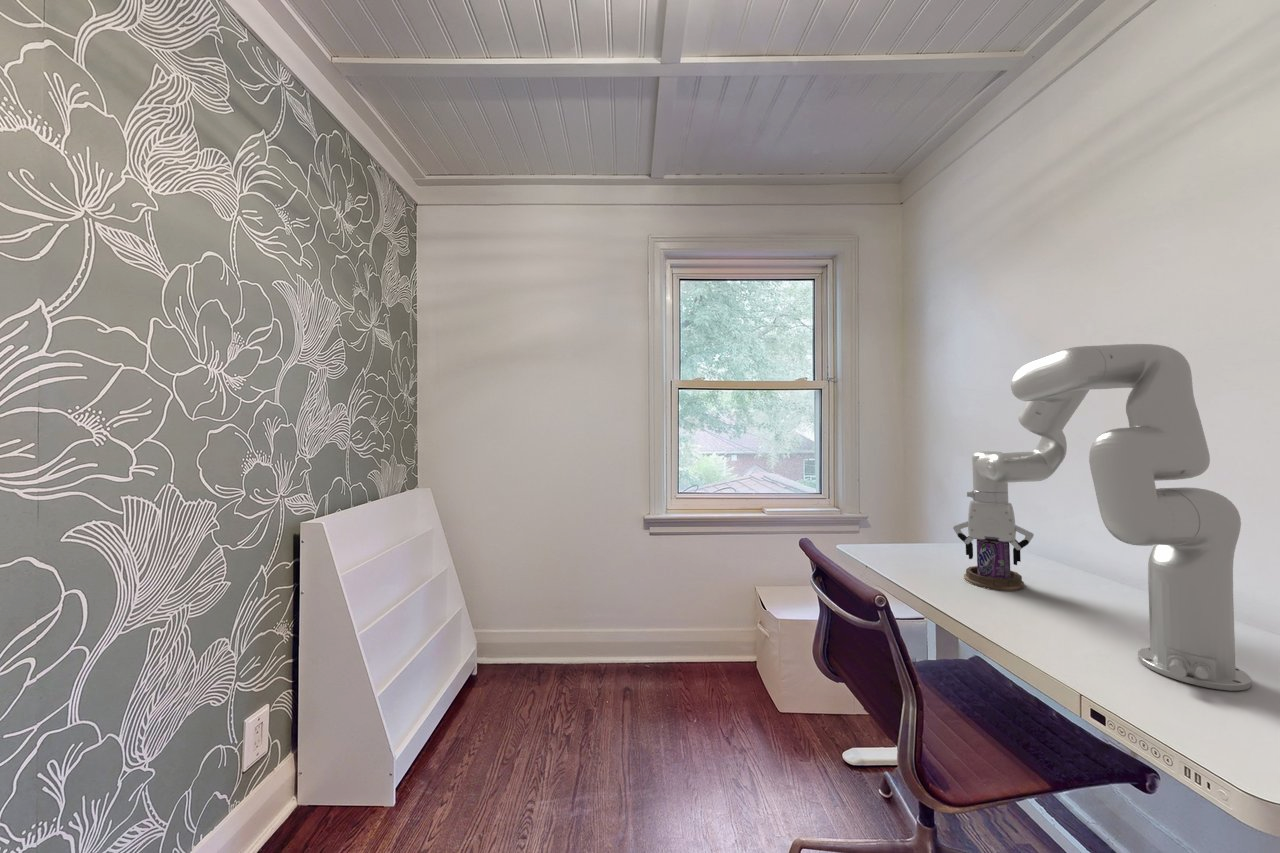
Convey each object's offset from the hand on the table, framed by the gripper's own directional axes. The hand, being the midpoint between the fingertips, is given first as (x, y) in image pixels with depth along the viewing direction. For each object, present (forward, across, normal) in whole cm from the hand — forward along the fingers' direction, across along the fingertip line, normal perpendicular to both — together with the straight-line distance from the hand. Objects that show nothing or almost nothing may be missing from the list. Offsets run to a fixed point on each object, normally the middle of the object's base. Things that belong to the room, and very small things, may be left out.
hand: (992, 560), depth 126 cm
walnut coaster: (+6, 0, 0) cm, 6 cm away
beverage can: (+5, 0, 0) cm, 5 cm away
